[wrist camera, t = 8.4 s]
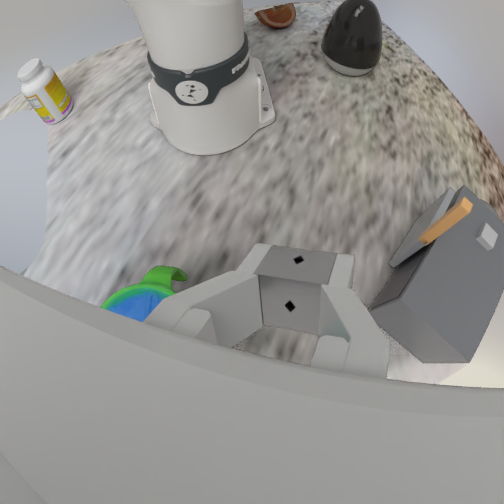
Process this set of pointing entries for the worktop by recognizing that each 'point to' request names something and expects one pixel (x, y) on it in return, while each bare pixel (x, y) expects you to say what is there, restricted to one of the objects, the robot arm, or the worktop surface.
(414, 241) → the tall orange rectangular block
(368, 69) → the black glossy egg shape
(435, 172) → the worktop surface
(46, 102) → the supplement bottle
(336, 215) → the worktop surface
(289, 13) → the fruit slice
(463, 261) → the gray box with nub
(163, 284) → the snack cup
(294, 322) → the robot arm
